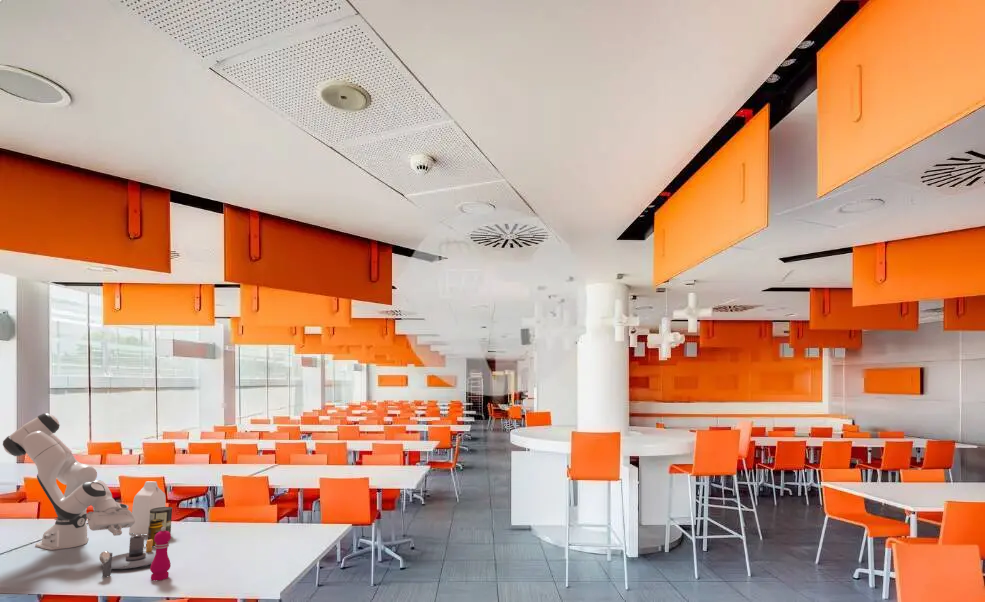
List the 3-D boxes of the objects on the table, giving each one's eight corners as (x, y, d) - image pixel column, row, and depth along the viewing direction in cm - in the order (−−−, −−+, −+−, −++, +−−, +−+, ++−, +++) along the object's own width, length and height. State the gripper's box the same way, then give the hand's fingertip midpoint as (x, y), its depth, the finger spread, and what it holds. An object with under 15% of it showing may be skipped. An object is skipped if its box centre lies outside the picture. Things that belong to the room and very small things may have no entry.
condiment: (162, 545, 281) (164, 520, 283) (142, 548, 276) (144, 522, 278) (161, 542, 287) (163, 517, 289) (141, 545, 282) (143, 519, 284)
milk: (128, 534, 303) (133, 483, 307) (146, 528, 314) (150, 479, 318) (147, 535, 300) (151, 483, 304) (165, 529, 311) (168, 480, 315)
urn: (121, 560, 251) (123, 536, 253) (136, 555, 258) (138, 532, 260) (134, 561, 249) (136, 537, 250) (149, 556, 256) (151, 533, 258)
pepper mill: (164, 574, 239) (168, 524, 242) (173, 577, 235) (176, 526, 238) (145, 579, 233) (149, 527, 236) (154, 582, 229) (158, 530, 232)
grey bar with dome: (97, 577, 235) (100, 551, 236) (104, 575, 238) (106, 549, 239) (106, 578, 234) (108, 552, 235) (112, 576, 237) (115, 550, 238)
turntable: (87, 566, 246) (89, 552, 246) (136, 550, 268) (137, 537, 269) (132, 571, 239) (133, 556, 240) (178, 554, 262) (179, 541, 263)
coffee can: (163, 533, 304) (165, 505, 305) (174, 536, 298) (176, 508, 300) (143, 538, 295) (145, 509, 297) (154, 541, 289) (156, 511, 291)
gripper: (89, 507, 256) (100, 531, 250) (131, 505, 275) (142, 527, 269) (80, 517, 257) (91, 542, 251) (122, 514, 275) (133, 537, 269)
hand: (118, 534), depth 260 cm, fingers closed
